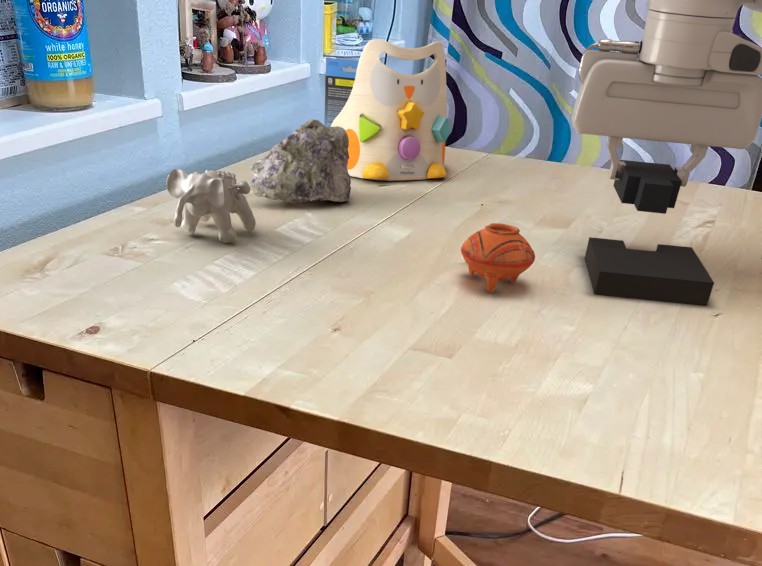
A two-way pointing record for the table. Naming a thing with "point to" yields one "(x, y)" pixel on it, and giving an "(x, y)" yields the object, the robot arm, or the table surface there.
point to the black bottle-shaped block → (648, 186)
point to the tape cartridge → (337, 87)
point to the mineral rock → (305, 166)
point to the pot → (497, 254)
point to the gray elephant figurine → (210, 201)
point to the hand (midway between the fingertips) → (646, 182)
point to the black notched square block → (647, 272)
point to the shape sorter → (397, 116)
